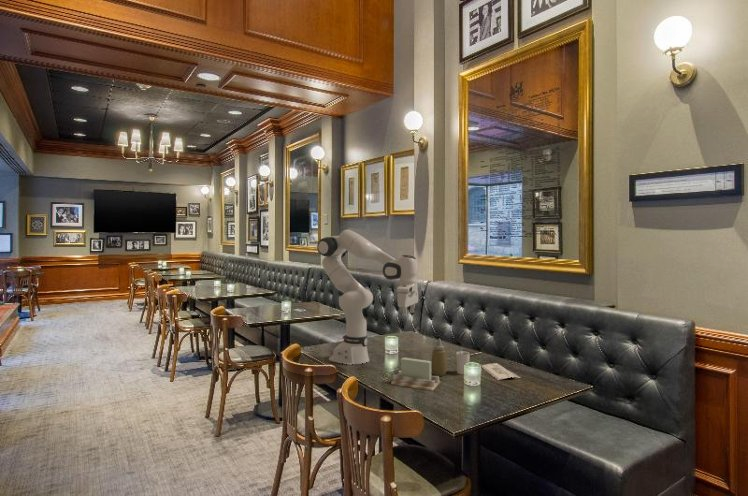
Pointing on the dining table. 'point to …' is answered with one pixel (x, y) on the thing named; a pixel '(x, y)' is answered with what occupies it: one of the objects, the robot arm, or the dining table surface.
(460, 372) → the grey cylinder
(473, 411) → the dining table surface
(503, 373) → the newspaper
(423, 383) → the door track
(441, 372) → the squeeze bottle
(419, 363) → the door panel
